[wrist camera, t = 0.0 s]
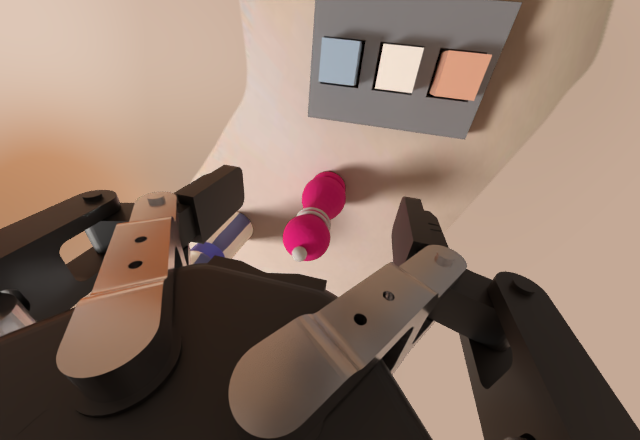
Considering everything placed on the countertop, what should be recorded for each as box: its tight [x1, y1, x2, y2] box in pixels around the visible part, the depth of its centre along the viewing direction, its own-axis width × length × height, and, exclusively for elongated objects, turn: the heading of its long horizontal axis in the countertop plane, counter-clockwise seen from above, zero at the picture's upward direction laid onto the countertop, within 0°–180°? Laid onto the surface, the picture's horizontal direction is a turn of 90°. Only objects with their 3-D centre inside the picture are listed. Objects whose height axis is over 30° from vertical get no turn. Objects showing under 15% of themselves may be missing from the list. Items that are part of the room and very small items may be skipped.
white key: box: [375, 44, 424, 93], centre depth 29 cm, size 4×4×4 cm
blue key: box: [319, 37, 362, 86], centre depth 30 cm, size 4×4×4 cm
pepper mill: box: [283, 172, 346, 262], centre depth 35 cm, size 7×7×20 cm
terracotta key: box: [429, 50, 492, 101], centre depth 28 cm, size 4×4×4 cm
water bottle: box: [190, 212, 253, 264], centre depth 43 cm, size 8×8×25 cm
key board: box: [308, 0, 522, 139], centre depth 31 cm, size 14×22×3 cm, turn 85°
